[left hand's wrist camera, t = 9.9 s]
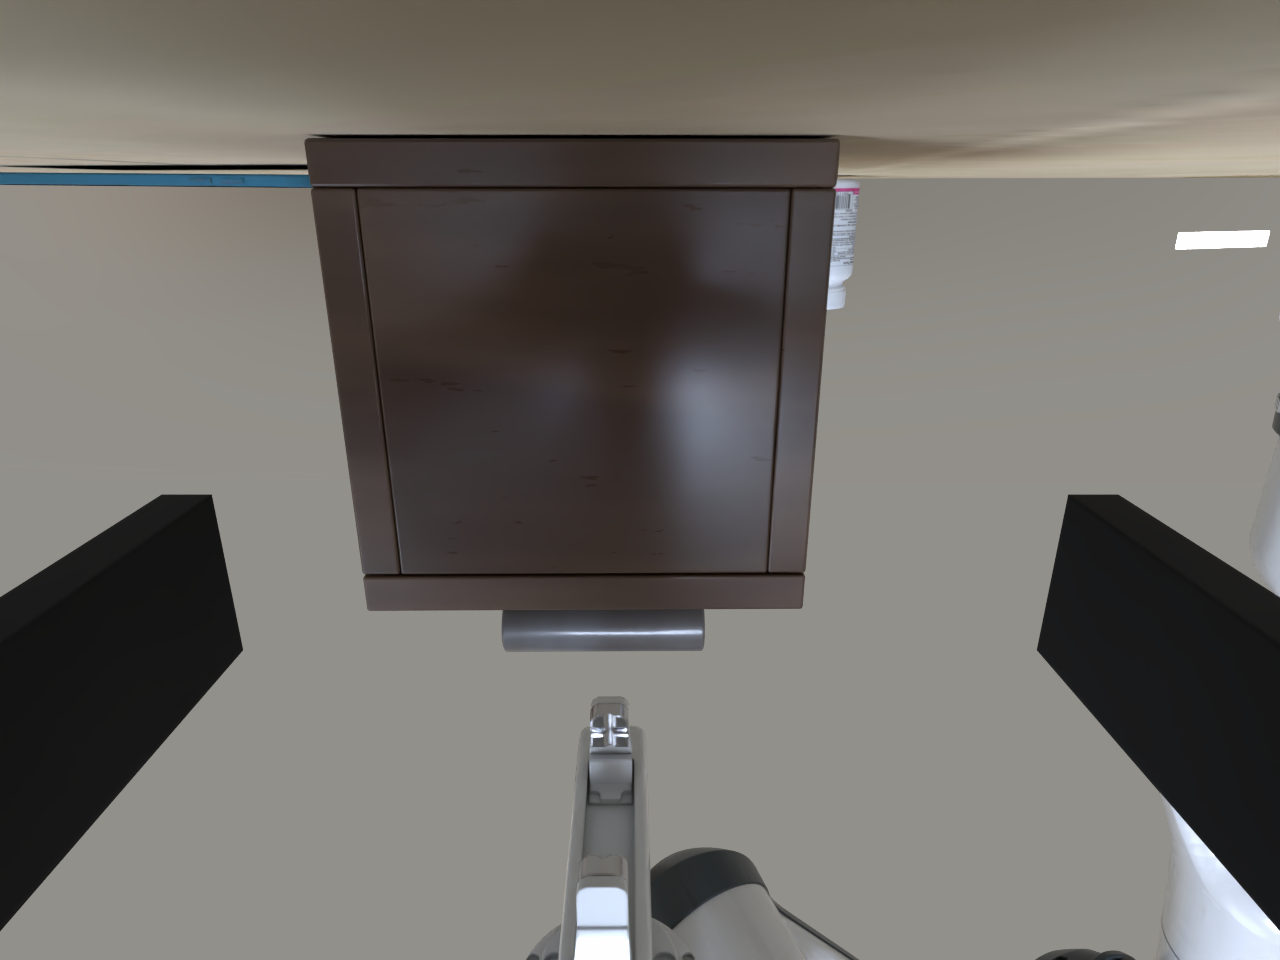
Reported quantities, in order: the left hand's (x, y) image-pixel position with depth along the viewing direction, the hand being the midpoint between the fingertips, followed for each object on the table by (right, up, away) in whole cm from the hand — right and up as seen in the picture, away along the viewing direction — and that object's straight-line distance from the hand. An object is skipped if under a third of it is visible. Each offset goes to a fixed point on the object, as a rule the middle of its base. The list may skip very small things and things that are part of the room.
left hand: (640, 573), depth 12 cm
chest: (-1, +10, +8) cm, 13 cm away
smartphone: (-20, +15, +23) cm, 34 cm away
